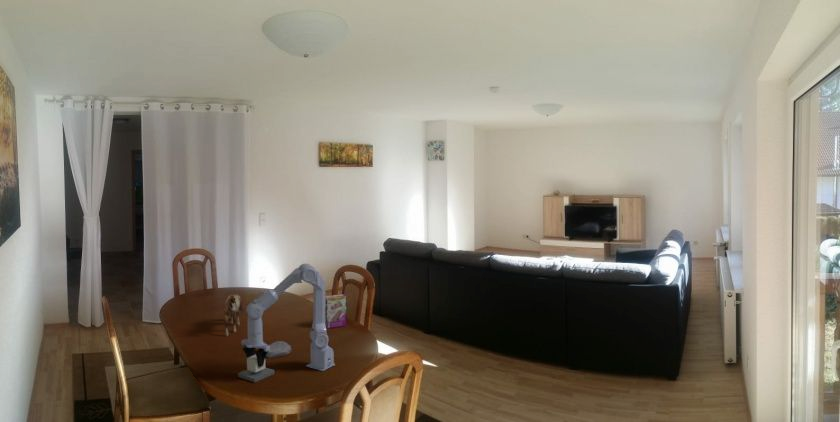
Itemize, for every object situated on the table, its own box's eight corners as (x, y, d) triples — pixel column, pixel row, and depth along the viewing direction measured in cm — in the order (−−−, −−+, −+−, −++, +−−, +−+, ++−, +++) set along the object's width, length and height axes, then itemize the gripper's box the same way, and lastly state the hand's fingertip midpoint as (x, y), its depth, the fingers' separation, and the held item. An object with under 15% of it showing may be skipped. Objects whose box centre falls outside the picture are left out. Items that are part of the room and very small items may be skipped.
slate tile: (274, 373, 211) (274, 370, 211) (255, 382, 203) (255, 378, 202) (257, 368, 216) (257, 365, 216) (238, 376, 208) (237, 373, 208)
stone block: (293, 355, 236) (280, 346, 241) (294, 346, 234) (280, 337, 240) (271, 364, 226) (258, 355, 232) (272, 355, 225) (258, 345, 231)
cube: (265, 368, 210) (265, 356, 210) (255, 372, 206) (255, 360, 205) (256, 365, 213) (256, 354, 212) (247, 369, 208) (246, 357, 208)
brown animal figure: (236, 338, 253) (235, 297, 251) (220, 339, 251) (218, 298, 249) (246, 319, 283) (245, 282, 281) (231, 320, 282) (230, 283, 280)
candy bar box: (326, 329, 267) (326, 298, 265) (323, 326, 271) (323, 296, 270) (346, 326, 273) (346, 295, 271) (343, 323, 277) (343, 293, 275)
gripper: (235, 331, 208) (236, 364, 209) (259, 338, 201) (260, 372, 202) (249, 327, 214) (249, 358, 215) (273, 333, 207) (274, 365, 208)
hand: (256, 364), depth 209 cm, fingers closed on cube, 5 cm apart
